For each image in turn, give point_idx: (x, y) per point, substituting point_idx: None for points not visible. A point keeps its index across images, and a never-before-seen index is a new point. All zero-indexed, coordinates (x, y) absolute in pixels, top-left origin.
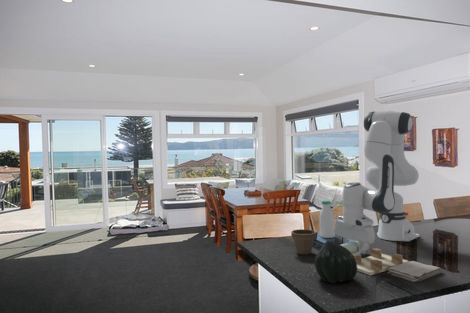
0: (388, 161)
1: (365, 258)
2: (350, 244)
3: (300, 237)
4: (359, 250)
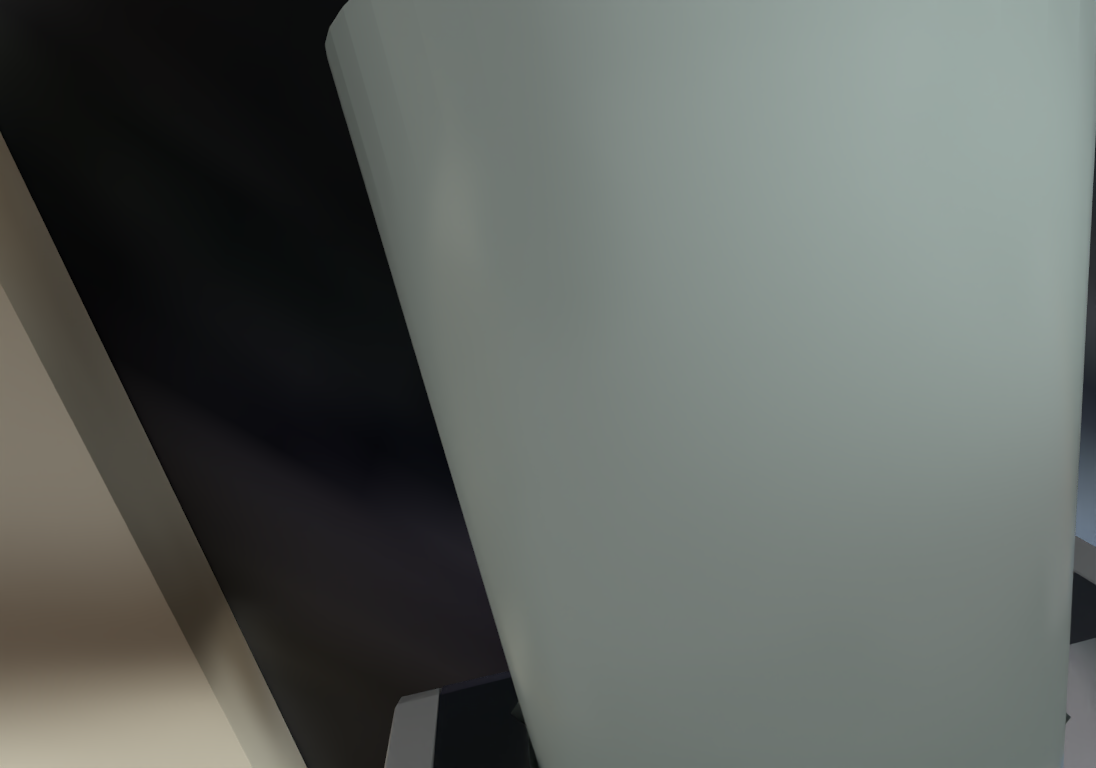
0: None
1: (84, 592)
2: (647, 592)
3: None
4: (395, 713)
